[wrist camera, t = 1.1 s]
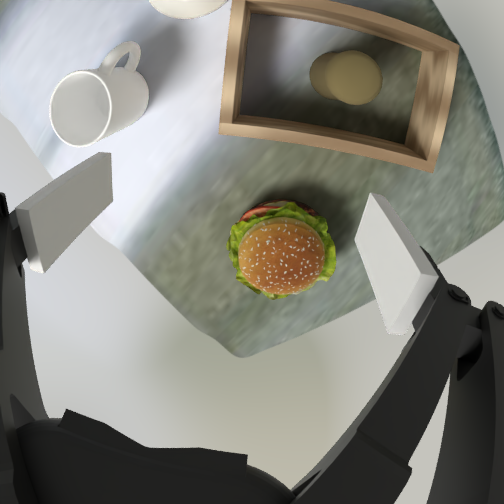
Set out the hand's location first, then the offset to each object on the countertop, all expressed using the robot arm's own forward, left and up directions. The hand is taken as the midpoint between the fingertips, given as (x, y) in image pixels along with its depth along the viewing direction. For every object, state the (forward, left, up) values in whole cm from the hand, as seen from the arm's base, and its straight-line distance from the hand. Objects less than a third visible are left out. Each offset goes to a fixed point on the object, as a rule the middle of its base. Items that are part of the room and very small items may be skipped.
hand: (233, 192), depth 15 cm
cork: (-7, +8, -24) cm, 26 cm away
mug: (-4, -17, -24) cm, 29 cm away
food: (+16, +5, -24) cm, 29 cm away
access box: (-7, +8, -24) cm, 26 cm away
